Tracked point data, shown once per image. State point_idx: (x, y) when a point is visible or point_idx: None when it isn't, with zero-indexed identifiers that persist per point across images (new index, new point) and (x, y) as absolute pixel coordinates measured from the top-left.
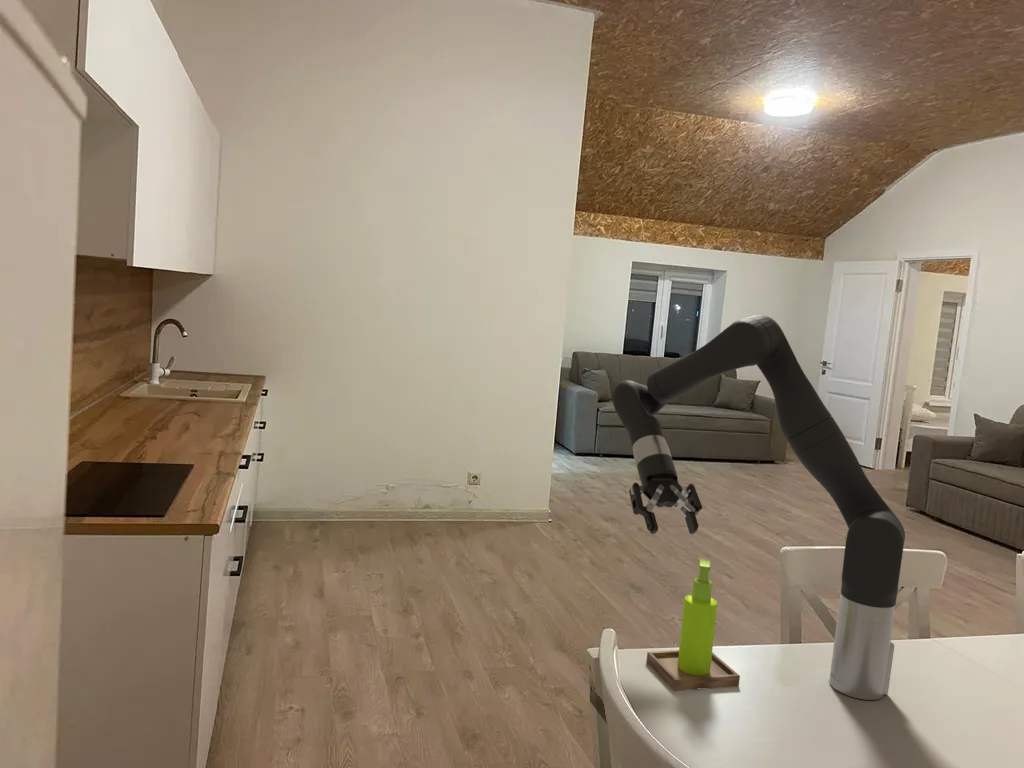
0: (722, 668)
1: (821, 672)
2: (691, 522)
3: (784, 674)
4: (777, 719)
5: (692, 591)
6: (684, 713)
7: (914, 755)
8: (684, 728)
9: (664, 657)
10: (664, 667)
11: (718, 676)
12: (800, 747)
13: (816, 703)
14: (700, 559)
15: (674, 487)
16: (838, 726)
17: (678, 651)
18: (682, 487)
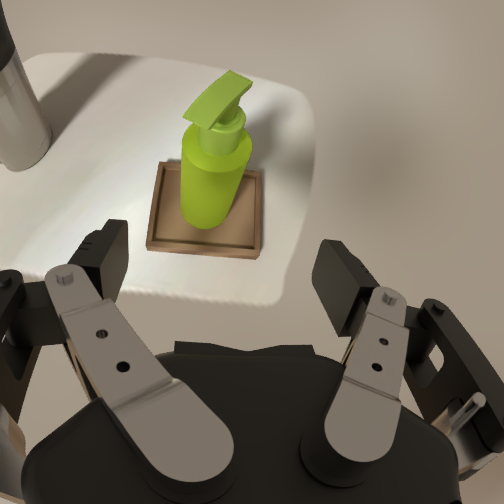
0: (159, 196)
1: (24, 184)
2: (116, 247)
3: (71, 186)
4: (172, 107)
5: (238, 141)
6: (271, 139)
7: (101, 56)
8: (285, 120)
9: (231, 247)
10: (258, 204)
11: None
12: (189, 74)
13: (98, 123)
14: (223, 105)
15: (154, 441)
16: (119, 89)
17: (204, 247)
18: (11, 485)
